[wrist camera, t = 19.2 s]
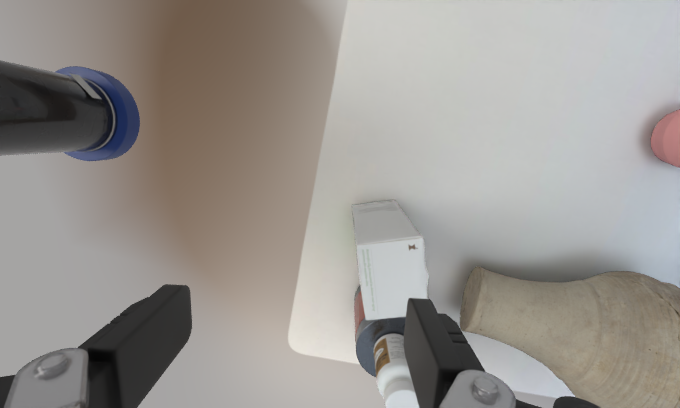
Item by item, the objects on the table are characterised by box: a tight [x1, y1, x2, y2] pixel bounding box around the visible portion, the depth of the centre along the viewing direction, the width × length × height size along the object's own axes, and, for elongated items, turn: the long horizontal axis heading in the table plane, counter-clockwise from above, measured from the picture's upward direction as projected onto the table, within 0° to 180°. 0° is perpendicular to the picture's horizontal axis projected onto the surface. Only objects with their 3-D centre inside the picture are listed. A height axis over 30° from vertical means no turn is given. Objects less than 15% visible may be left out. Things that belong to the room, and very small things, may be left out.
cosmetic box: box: [352, 200, 429, 320], centre depth 36 cm, size 8×7×16 cm
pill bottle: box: [374, 333, 419, 408], centre depth 32 cm, size 4×4×8 cm
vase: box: [460, 266, 680, 408], centre depth 38 cm, size 22×22×28 cm
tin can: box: [354, 286, 406, 377], centre depth 41 cm, size 8×8×11 cm
